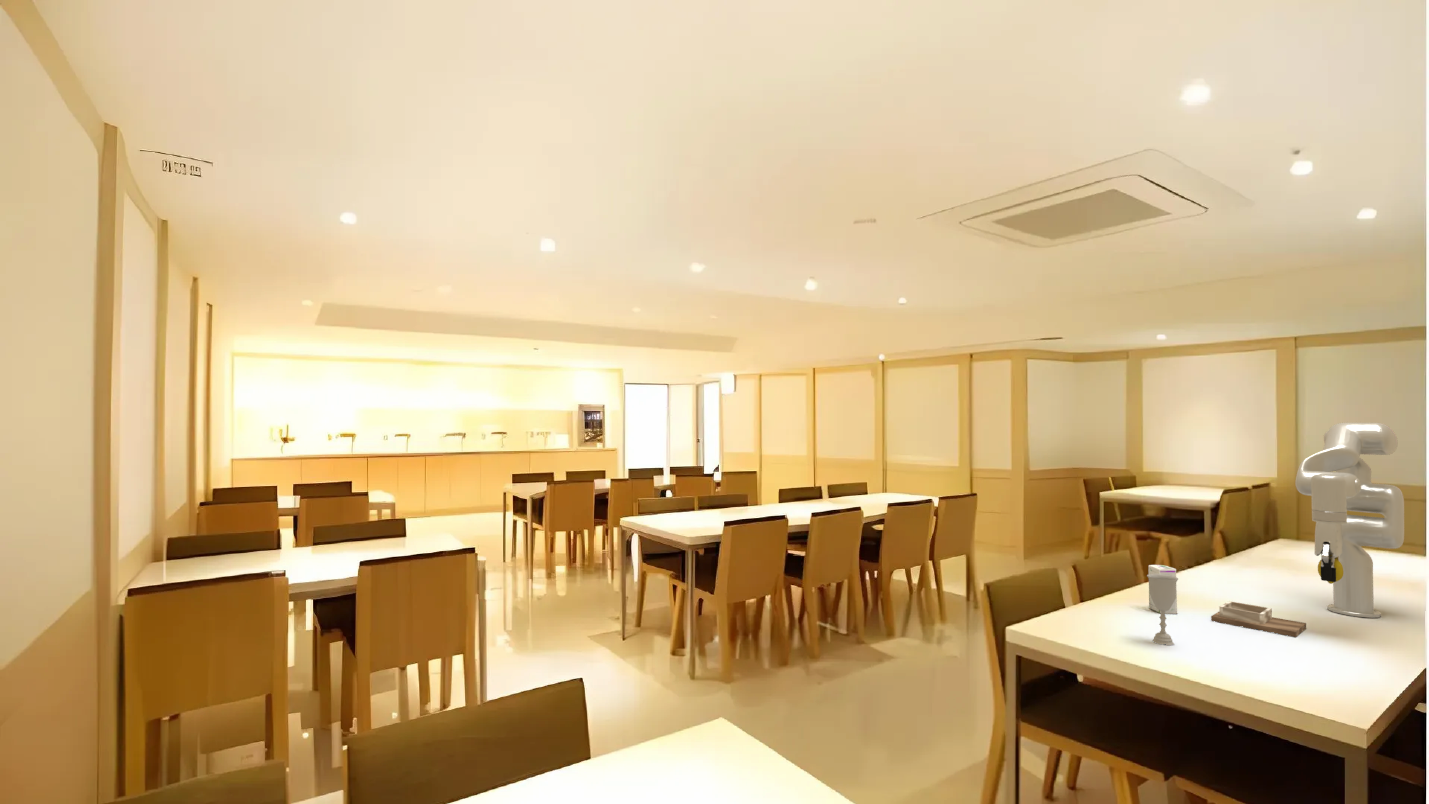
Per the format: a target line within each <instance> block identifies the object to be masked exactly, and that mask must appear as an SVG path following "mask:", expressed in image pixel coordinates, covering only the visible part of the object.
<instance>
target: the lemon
mask: <svg viewBox="0 0 1429 804" xmlns="http://www.w3.org/2000/svg"><path fill="white" fill-rule="evenodd" d="M1331 557H1332V556H1331ZM1331 561H1332V559H1331ZM1334 568H1336V581H1339V580H1340V579H1341V578H1342V577H1343V566H1342V564H1341V563H1340V562H1339V561H1338V560H1337V559H1335V566H1334ZM1317 573H1318V574H1319V577H1321V559H1320V560H1319V562H1318V565H1317ZM1326 582H1327V583H1328V584H1329V585H1330V584H1332V585H1333V583H1334V582H1330V581H1326Z"/></svg>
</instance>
